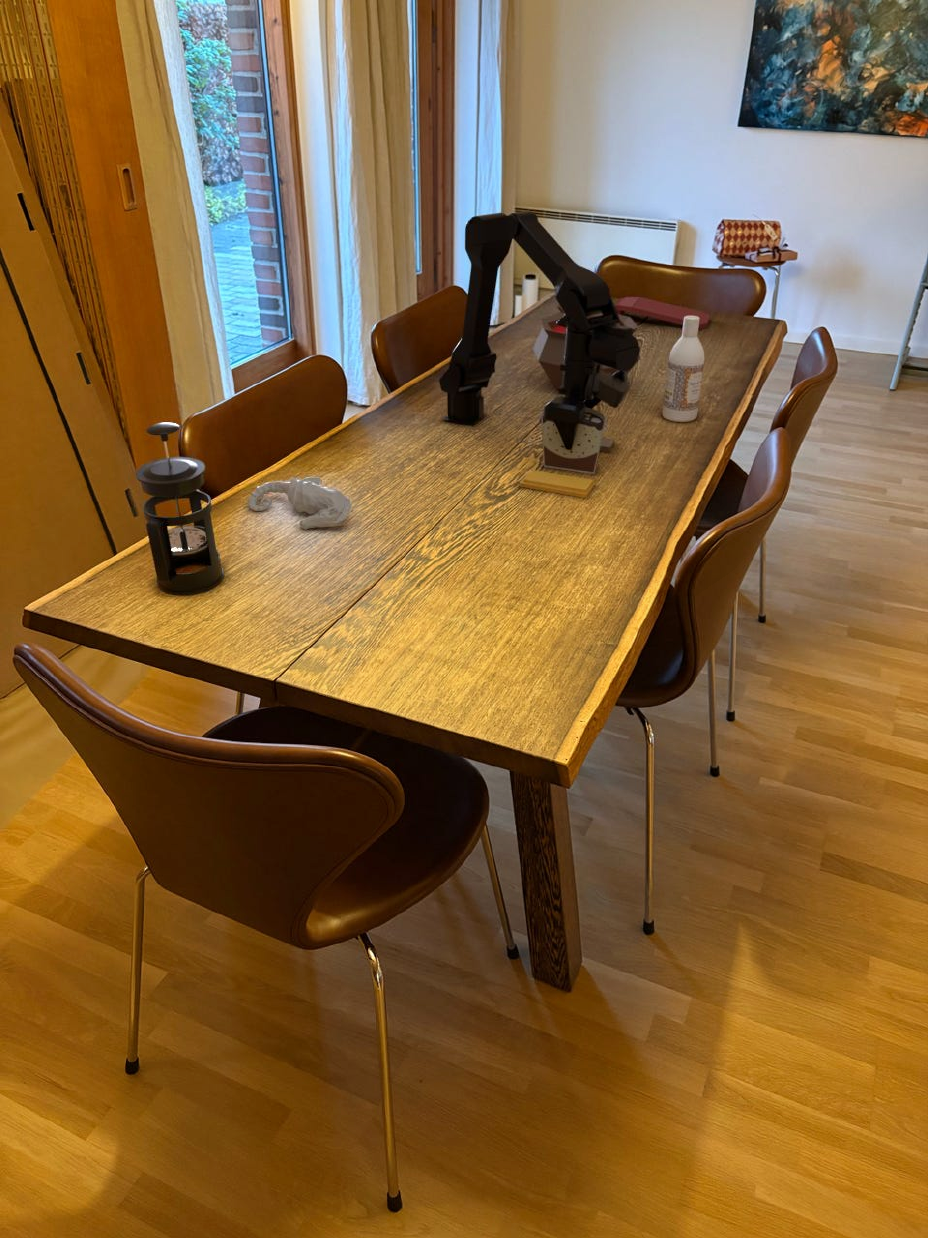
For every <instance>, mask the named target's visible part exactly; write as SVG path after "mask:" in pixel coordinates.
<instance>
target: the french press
mask: <svg viewBox="0 0 928 1238" xmlns="http://www.w3.org/2000/svg"><path fill="white" fill-rule="evenodd" d="M179 430H180V425H179V424H177V423H173V422H158V423H154V424H151V425H150V426H148V427H146V429H145V432H146V433H147V434H149V435H151V436H159V437H160V440H161V442H163V443H164V444H163V445H164V450H165V456H166V457H163V458H159V459H155V460H151V461H149V462H147V463H145V464H143V465H140V467H138V468H137V470H136V471H135V477H136V479H137V480H138V481H139V482H140V485H141V489H142V491H143V492H144V494H147V495H149V496H151V497H149V498H148V499H147V500H145V501H144V503H143V504H142V510H143V515H144V519H145V520H146V521H147V522H146V524H145V528H146V533H147V537H148V543H149V548H150V552H151V557H152V561H153V562H152V563H153V566H154V571H155V575H156V585H157V587H158V589H159V590H160V591H162V592H163V593H165V594H168V595H173V596H193V595H198V594H202V593H206V592H208V591H210V590H211V591H212V590H213V589H215V588H216V587H218V586H219V585H220V584H221V583H222V582H223V580H224V578H225V571H224V568H223V566H222V561H221V555H220V552H219V550H218V549H217V546H216V545H217V544H216V539H215V533H214V528H213V521H212V516H211V515H212V514H211V512H212V510H213V507H212V500H211V497H210V495H208V494H207V493H205V492H204V491H201V490H199V489H201V487H202V486H203V485H204V484H205V479H204V473H205V472H206V465H205V463H204V462H203V461H201V460H200V459H197V458H193V457H187V456H186V457H185V456H172V457H171V456H170V451H169V447H168V441H169V435H171V434H174V433H176V432H179ZM178 499H179V500H182V499H188V501H189V505H190V511H191V513H187V514H183V515H181V510H180V505H179V501H178ZM172 500H174V503H175V508H176V514H177V515H176V516H159V515H158V514H157V509H156V506H157V505H159V504H162V503H165V502H168V501H172ZM202 502H204V503H207V504H206V505H205V506H204V507H203V505H202ZM191 524H193V525H191ZM169 527H173V528H169ZM192 566H193V567H194V566H198V567H199V566H201V567H205V568H202V569H199V570H197V571H192V572H185V573H177V570H179V569H183V568H187V567H192Z"/></svg>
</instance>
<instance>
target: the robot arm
mask: <svg viewBox="0 0 928 1238" xmlns="http://www.w3.org/2000/svg"><path fill="white" fill-rule="evenodd" d="M513 240H514V241H515V242H516V243H517V245H518V246H519V247H520V248H521V249H522V250H523V252H524V253H525V254H526V255H527V256H528V257H529V259H530V260H531V261H532V262H533V263H534V265H535V266H536V267H537V268H538V269H539V270H540V271H541V273H543V275H544V276H545V278H547V280H548V281H549V282H550V283H551V285H552V287H553V289H554V297H555V300H556V301H557V303H558V305H560V306H561V308H562V309H563V311H564V313H565V315H564V317H562V318H561V319H560V320H558V321H557V325H558V326H562V327H565V328H566V339H565V353H564V362H562V363H561V364H560V370H562V371H563V382H562V385H561V386H560V387H559V390H557V392H558V393H557V394H558V395H563V396H555V397H553V398H552V399H551V400H550V401H549V402H548V403H547V404H546V405H545V406H544V409H543V411H544V418H546V419H551V420H553V421H554V423H555V425H556V427H557V430H558V432H559V434H560V437H561V439H562V441H563V444H564V446H565V449H567V450H571V449H572V447H573V444H574V440H575V436H576V431H577V427H578V424H579V423H580V422H582V421H583V420H584V419H585V418H586V417H587V415H585V409H586V408H591V409H594V408H596V406H598V405H599V404H600V403H601V402H603V403H606V404H607V405H608V407H611V408H613V409H617V408H619V406H620V405H621V403H622V402H623V401H624V398H625V396H626V395H627V392H628V391H629V389H630V382H629V381H628V374H627V372H625V371H628V370H629V369H631V368H632V367H633V366H634V364H635V363H636V361H637V359H638V356H639V355H640V352H641V350H640V349H641V347H640V345H639V340H638V339H637V337H636V336H635V335H634V333H633V328H631V327H627V326H626V327H623V326H619V325H616V324H618V323H620V319H619V316H618V313H617V310H616V308H615V303H614V301H613V299H612V296H611V293H610V287H609V285H608V283H607V282H606V281H605V280H604V279H603V278H602V277H601V276H599V275H598V274H597V273H595V272H594V271H593V270H591V269H589V268H586V267H583V266H581V265H579V264H578V263H576V262H575V261H574V259H572V257H570V255H569V254H568V253H567V252H566V250H564V248H563V247H562V246H561V245H560V244H559V242H557V240H555V238H554V237H553V236H552V234H550V232H548V230H547V229H546V228H545V227H544V225H542V223H541V222H539V218H538V216H537V214H536V213H534V212H532V211H530V210H523V211H518V212H512V213H509V215H507V214H506V213H504V212H494V213H488V214H481V215H475V216H472V217H471V218H470V219H468V220H467V221H466V223H465V228H464V249H465V253H466V256H467V257H468V260H469V262H470V272H469V281H468V288H467V296H466V305H465V312H464V320H463V328H462V336H461V339H460V340H459V342H458V343H457V345H456V347H455V348H454V350H453V351H452V354H451V358H450V361H449V365H448V369H446V371H445V372H444V373H443V374H442V375H441V377H439V379H438V383H439V387H440V390H441V391H442V392H444V393H446V395H447V396H446V397H447V398H446V399H447V400H446V401H447V403H446V405H447V407H446V409H447V411H446V412H447V415H446V416H445V417H444V418H443V421H444V422H450V423H456V424H461V425H469V426H474V425H475V424H476V423H477V422H479V421H481V419H483V418H484V417H485V415H486V413H485V412H484V411H485V399H484V398H485V397H484V396H483V395H482V393H483V389H484V388H488V387H489V383H490V380H491V378H492V377H493V374H495V373H496V361H497V357H498V356H497V353H495V352H493V351H492V349H491V347H490V344H489V336H490V335H489V334H490V328H491V321H492V314H493V307H494V301H495V293H496V287H497V280H498V273H499V269H500V266H502V263H503V262H504V261H505V259H506V258H507V256H508V255H509V253H510V249H511V246H512V243H513ZM599 313H602V314H603V315H601V316H597V317H593V318H589V319H587V316H591V315H595V314H599ZM636 364H637V363H636ZM602 365H604V366H607V367H610V368H613V369H616V370H618V371H617V372H615V373H614V374H613V375H611V373H610V372H609V373H608V374H607V373H605V372H603V371H602ZM634 367H635V366H634ZM634 367H633V368H634ZM633 368H632V369H633ZM632 369H631V370H632Z"/></svg>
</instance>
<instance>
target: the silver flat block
mask: <svg viewBox="0 0 928 1238" xmlns="http://www.w3.org/2000/svg"><path fill="white" fill-rule="evenodd" d="M615 443H616V439H613V438H607V437H602V442H601V446H600V451H599V452H602V453H610V452H611V450H613V448H614V446H615V445H616V444H615Z"/></svg>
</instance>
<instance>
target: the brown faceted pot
mask: <svg viewBox="0 0 928 1238" xmlns="http://www.w3.org/2000/svg"><path fill="white" fill-rule="evenodd" d="M556 308H557V310H558V312H555V313H553V314H550V315H546V316H544V317H540V318H538V320H539V322H540V324H541V326H542V328H541V330H540V333H539V335H538V336H537V339H536V341H535V343H534V345H533V347H532V349H533V352H534V354H535V355H536V356H535V357H536V358H537V361H538V362H539V364H540V366H541V367H542V369H543V371H544V373H545V374H546V375H547V377H548V379H549V380H550V382H551V383H552V385H553V387H554V389H555V390H556V391H558V390H559V387H560V386H561V385H562V382H563V371H562V370H560V364H561V363H562V362H564V353H565V339H566V328H565V327H562V326H558V325H557V321H558V320H560V319H561V318H562V317H564V315H565V313H564V311H563V309H562V308H561V306H560V305H559V304H558V305H557V306H556ZM601 315H603V314H602V313H599V314H595V315H591V316H587V319H589V318H593V317H597V316H601ZM618 316H619V319H620V323H618V324H616V325H619V326H623V327H626V326H627V327H631V328H633V334H635V333H636V331H637V330H638V329H639V326H638V324H637V323H636V322H635V321H634V319H633V318H632V317H631V316H627V315H623V316H622V315H618ZM641 359H642V358H641V355H640V354H639V356H638V359H637V361H636V363H635V364H634V366H633V367H632V368H631V369H629V370H628V371H625V372H627V375H628V374H629V373H630V372H631V371H632V369H634V367H635V366H636V365H637V364H638V362H639V361H640V360H641ZM602 371H603V372H605V373H607V374H608V373H609V372H610V373H611V375H613V374H614V373H615V372H617V371H618V370H616V369H613V368H610V367H607V366H604V365H602Z"/></svg>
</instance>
